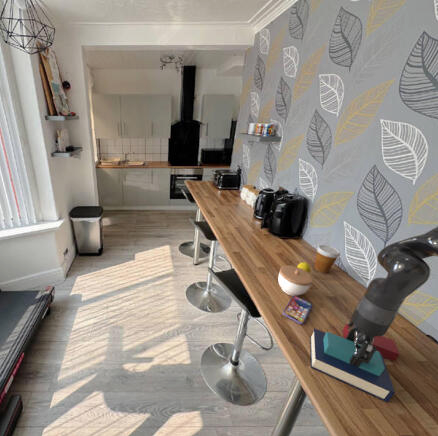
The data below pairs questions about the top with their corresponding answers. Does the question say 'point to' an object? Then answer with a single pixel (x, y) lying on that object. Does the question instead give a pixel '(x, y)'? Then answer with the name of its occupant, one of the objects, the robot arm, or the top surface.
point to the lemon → (304, 266)
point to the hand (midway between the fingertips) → (351, 353)
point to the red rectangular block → (381, 345)
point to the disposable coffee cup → (325, 258)
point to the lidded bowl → (294, 280)
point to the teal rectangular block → (350, 353)
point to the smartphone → (297, 309)
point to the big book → (349, 371)
